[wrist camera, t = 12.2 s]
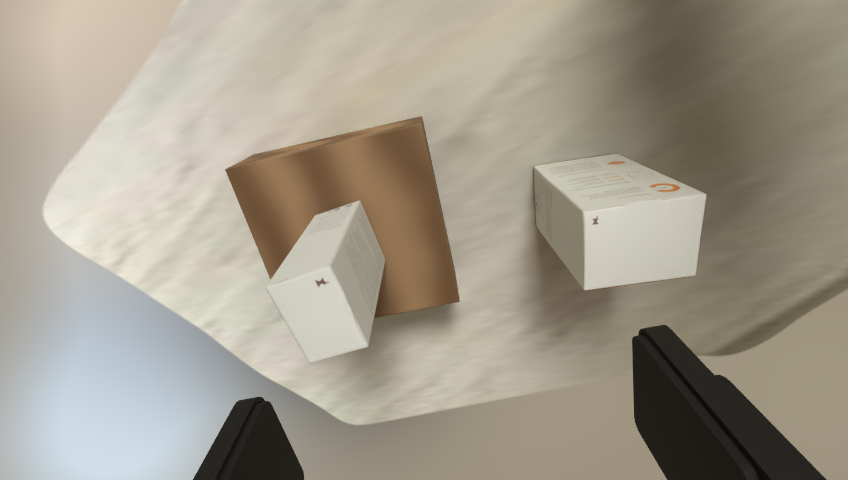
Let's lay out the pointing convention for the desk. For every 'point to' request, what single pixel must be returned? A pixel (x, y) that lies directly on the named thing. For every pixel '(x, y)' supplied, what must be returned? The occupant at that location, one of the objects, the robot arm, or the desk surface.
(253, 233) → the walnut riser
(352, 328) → the skincare box
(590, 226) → the small box
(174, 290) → the desk surface
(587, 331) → the desk surface
